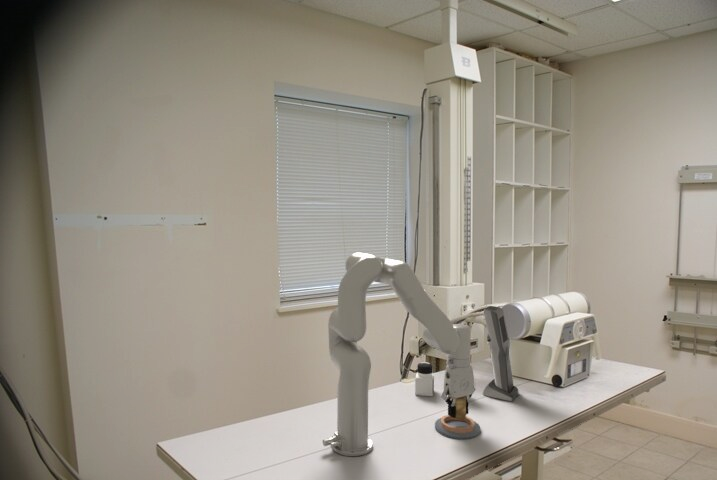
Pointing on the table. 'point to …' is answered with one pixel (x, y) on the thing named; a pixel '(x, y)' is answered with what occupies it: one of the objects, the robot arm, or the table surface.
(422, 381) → the medicine bottle
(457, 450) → the table surface
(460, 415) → the wooden bead
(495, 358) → the thermal camera
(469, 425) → the ring tray
